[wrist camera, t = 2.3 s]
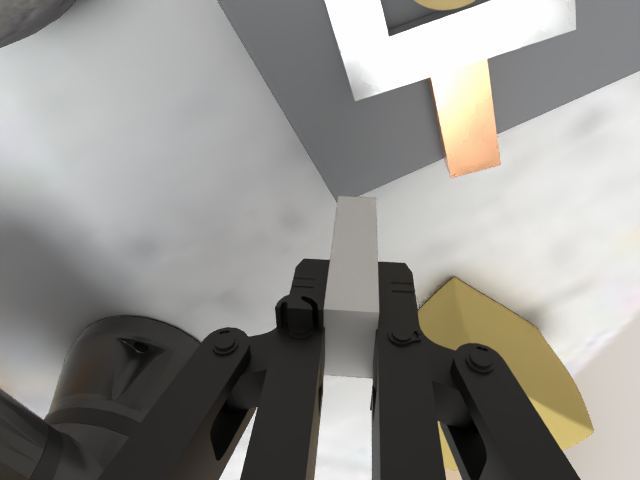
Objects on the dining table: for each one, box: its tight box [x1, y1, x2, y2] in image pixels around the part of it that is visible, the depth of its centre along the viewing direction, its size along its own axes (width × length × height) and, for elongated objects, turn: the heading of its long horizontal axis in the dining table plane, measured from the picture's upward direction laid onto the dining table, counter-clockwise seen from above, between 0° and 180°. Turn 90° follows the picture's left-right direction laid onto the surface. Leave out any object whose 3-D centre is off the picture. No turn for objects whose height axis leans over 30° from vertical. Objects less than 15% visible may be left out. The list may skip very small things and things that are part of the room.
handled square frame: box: [325, 0, 576, 178], centre depth 21 cm, size 17×11×2 cm, turn 19°
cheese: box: [418, 277, 594, 470], centre depth 33 cm, size 10×11×10 cm
